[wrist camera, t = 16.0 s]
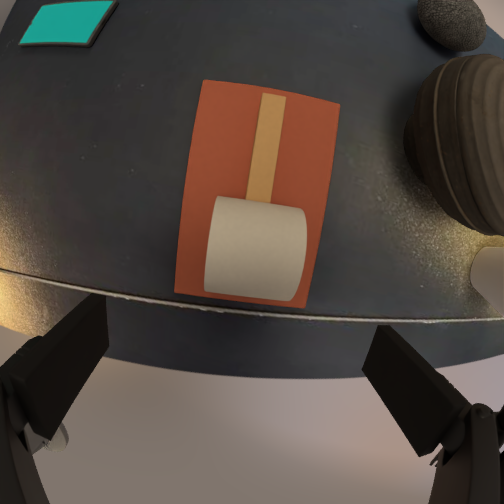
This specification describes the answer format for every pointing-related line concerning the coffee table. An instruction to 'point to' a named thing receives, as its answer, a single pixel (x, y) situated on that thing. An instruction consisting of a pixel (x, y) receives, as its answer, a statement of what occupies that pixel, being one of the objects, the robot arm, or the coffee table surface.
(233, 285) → the mallet
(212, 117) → the mat
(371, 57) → the coffee table surface
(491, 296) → the cup
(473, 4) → the decorative ball
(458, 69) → the pot
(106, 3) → the smartphone
